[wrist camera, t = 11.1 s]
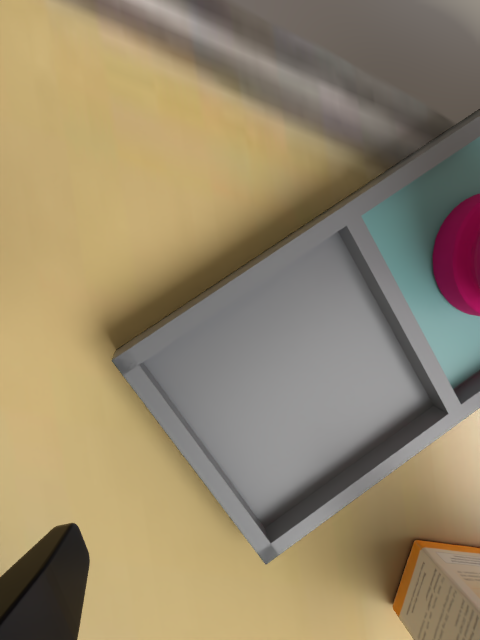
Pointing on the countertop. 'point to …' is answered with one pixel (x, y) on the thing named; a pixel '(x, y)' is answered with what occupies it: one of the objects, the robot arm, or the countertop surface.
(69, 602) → the robot arm
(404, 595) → the supplement box
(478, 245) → the pepper mill
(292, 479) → the sorting tray
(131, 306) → the countertop surface
